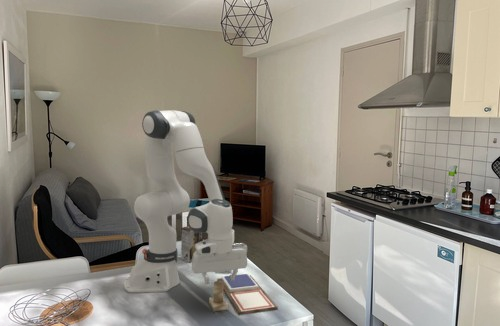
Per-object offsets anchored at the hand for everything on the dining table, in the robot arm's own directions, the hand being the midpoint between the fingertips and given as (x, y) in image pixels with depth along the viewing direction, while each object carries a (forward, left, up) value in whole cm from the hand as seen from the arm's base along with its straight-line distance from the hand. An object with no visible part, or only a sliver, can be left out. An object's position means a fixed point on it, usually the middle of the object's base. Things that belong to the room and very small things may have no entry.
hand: (219, 281), depth 140 cm
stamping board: (+13, +8, -10) cm, 18 cm away
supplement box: (+11, +33, -10) cm, 37 cm away
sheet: (+13, 0, -10) cm, 16 cm away
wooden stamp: (0, 0, -10) cm, 10 cm away
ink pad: (+13, +15, -10) cm, 22 cm away
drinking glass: (+16, +45, -10) cm, 49 cm away
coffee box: (0, +51, -10) cm, 52 cm away
